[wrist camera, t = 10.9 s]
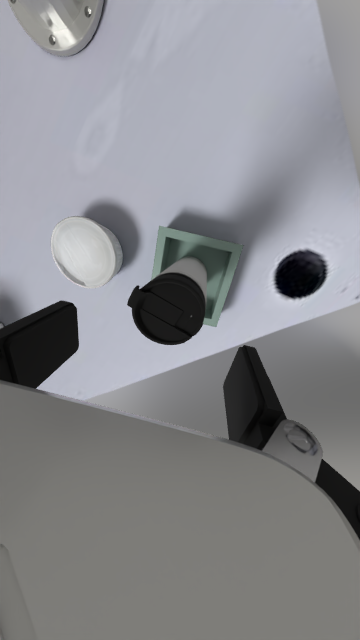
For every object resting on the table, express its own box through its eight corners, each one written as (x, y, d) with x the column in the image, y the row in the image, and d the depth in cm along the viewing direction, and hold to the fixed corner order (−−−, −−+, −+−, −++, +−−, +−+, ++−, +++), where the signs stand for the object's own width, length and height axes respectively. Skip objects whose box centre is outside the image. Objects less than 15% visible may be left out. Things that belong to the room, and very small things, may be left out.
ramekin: (62, 257, 36) (40, 259, 31) (86, 203, 31) (64, 197, 26) (110, 293, 37) (96, 301, 33) (139, 248, 33) (127, 249, 28)
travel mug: (181, 247, 31) (145, 259, 13) (214, 268, 32) (222, 307, 14) (164, 278, 34) (114, 324, 16) (194, 297, 34) (180, 362, 16)
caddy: (166, 227, 31) (159, 225, 26) (238, 244, 30) (243, 245, 26) (154, 301, 36) (147, 309, 32) (215, 316, 36) (216, 327, 31)
